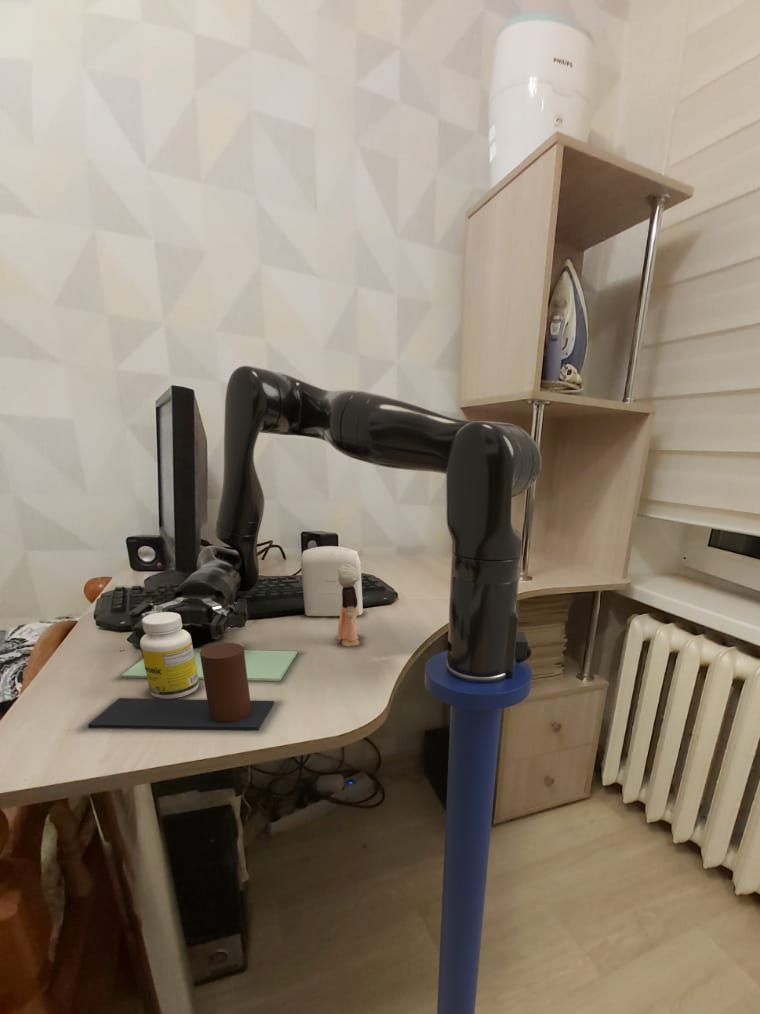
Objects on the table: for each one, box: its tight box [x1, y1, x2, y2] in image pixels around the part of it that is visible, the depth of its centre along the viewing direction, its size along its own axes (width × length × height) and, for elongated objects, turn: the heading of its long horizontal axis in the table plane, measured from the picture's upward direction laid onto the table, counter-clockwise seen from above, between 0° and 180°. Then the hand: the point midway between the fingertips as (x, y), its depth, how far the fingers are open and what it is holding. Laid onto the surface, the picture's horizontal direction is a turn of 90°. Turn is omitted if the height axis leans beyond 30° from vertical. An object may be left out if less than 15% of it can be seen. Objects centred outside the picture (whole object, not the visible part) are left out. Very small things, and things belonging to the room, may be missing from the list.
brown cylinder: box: [200, 642, 251, 723], centre depth 59 cm, size 4×4×8 cm
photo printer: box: [300, 545, 364, 617], centre depth 91 cm, size 10×4×12 cm, turn 99°
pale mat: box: [121, 648, 298, 682], centre depth 72 cm, size 20×9×1 cm, turn 94°
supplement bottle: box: [139, 612, 200, 699], centre depth 63 cm, size 5×5×10 cm
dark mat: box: [87, 697, 275, 731], centre depth 60 cm, size 18×6×1 cm, turn 94°
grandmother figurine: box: [337, 564, 362, 647], centre depth 80 cm, size 8×4×13 cm, turn 23°
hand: (178, 633), depth 67 cm, fingers open, 8 cm apart
